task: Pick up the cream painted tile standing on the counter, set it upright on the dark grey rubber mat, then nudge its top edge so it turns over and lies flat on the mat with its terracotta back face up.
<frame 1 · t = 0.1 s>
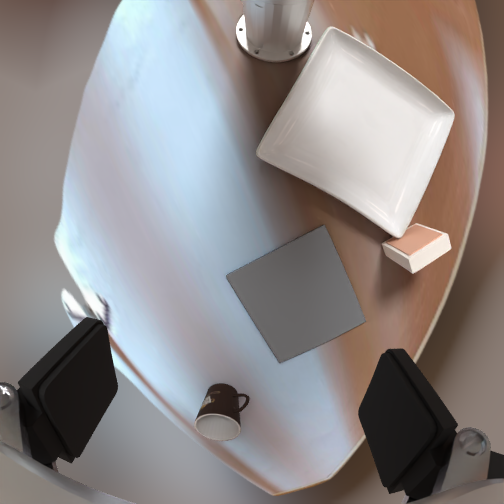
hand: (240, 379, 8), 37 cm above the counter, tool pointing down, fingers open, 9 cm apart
tile: (401, 239, 45), on the counter
mat: (300, 299, 48), on the counter
square plate: (364, 129, 41), on the counter
coffee mug: (229, 392, 54), on the counter
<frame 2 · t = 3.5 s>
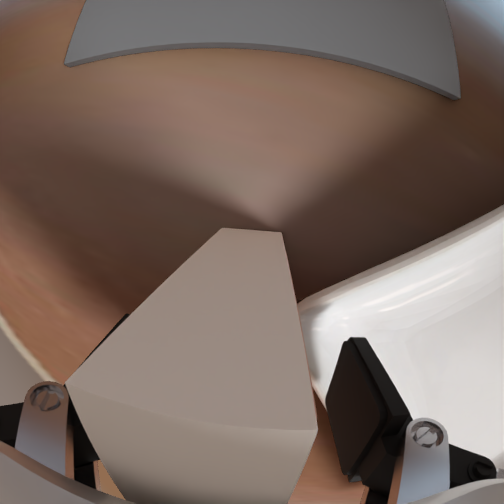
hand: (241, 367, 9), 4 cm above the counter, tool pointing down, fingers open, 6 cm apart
tile: (245, 316, 13), on the counter
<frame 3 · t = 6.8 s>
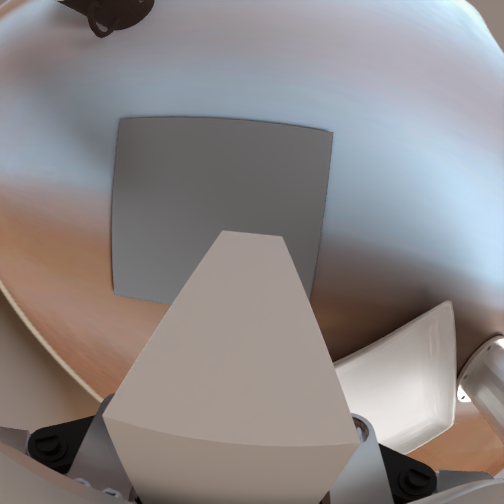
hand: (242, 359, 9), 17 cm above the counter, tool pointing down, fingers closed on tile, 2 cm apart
tile: (243, 319, 13), point 14 cm above the counter, touching gripper
mat: (211, 216, 25), on the counter
square plate: (362, 408, 32), on the counter
coffee mug: (123, 19, 20), on the counter
when the fingers open (5 cm above the counter, at t = 9.4 s): tile stays where it is, resting on mat.
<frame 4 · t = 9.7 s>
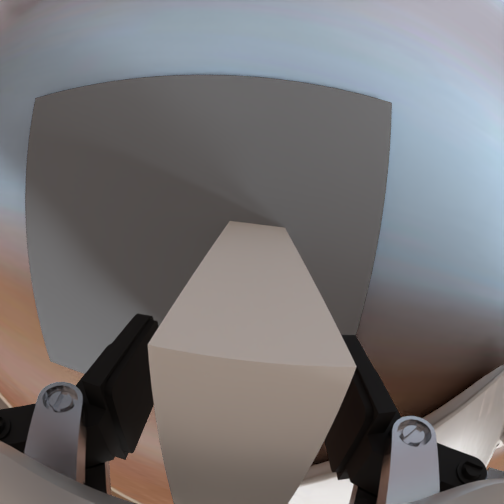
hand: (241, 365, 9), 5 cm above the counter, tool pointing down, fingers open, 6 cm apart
tile: (247, 305, 14), point 1 cm above the counter, touching mat
mat: (171, 256, 14), on the counter
square plate: (388, 476, 20), on the counter
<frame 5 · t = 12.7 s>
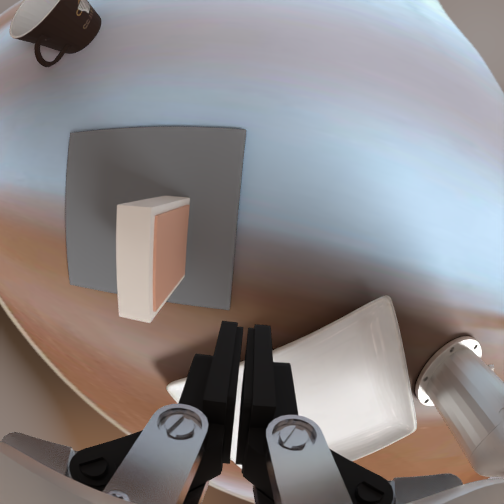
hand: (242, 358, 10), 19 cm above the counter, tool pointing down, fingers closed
tile: (174, 237, 27), point 1 cm above the counter, touching mat
mat: (141, 214, 27), on the counter
square plate: (309, 405, 34), on the counter
coffee mug: (77, 43, 22), on the counter
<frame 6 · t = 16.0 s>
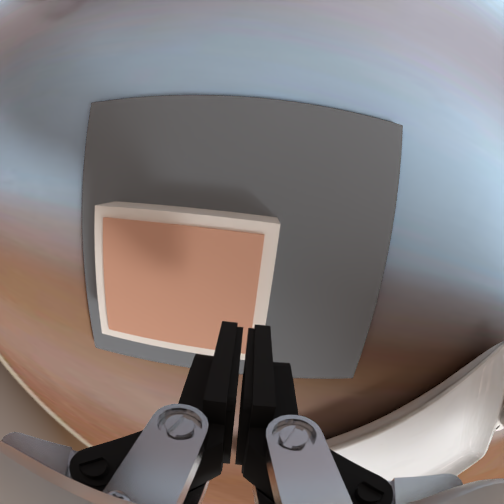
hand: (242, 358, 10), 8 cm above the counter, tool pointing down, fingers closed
tile: (268, 291, 16), point 2 cm above the counter, tilted 90°, touching mat
mat: (227, 246, 17), on the counter
square plate: (398, 453, 24), on the counter
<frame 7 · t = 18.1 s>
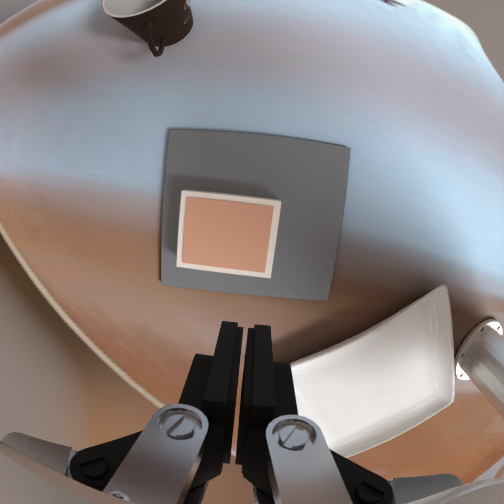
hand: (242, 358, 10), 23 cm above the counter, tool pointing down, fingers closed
tile: (275, 238, 30), point 2 cm above the counter, tilted 90°, touching mat
mat: (252, 216, 31), on the counter
square plate: (373, 383, 38), on the counter
coffee mug: (164, 36, 25), on the counter
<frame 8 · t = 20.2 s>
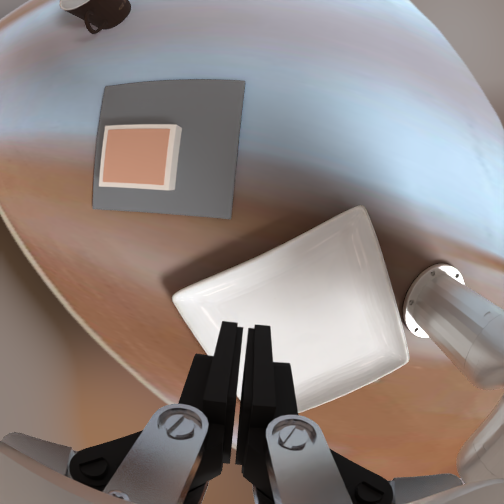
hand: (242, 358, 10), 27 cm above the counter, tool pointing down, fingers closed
tile: (175, 157, 32), point 2 cm above the counter, tilted 90°, touching mat
mat: (161, 144, 33), on the counter
square plate: (303, 325, 40), on the counter
coffee mug: (110, 21, 28), on the counter
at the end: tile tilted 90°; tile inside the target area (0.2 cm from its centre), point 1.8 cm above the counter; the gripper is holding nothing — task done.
